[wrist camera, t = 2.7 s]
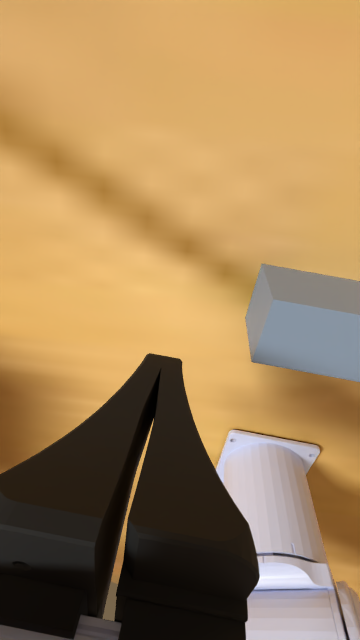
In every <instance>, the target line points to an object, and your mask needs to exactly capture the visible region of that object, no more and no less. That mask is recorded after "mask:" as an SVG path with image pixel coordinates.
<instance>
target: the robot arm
mask: <svg viewBox="0 0 360 640" xmlns="http://www.w3.org/2000/svg"><path fill="white" fill-rule="evenodd" d="M153 418H154V421H153ZM152 422H153V427H152V431H151V435H150V439H149V443H148V447H147V451H146V455H145V458H144V462H143V466H142V470H141V473H140V477H139V481H138V484H137V488H136V492H135V495H134V499H133V502H132V506H131V510H130V513H129V517H128V523H127V532H126V542H125V551H124V561H123V565H122V570H121V574H120V578H119V583H118V587H117V592H116V596H117V600H116V611H115V621H109V620H105V619H102V618H103V613H104V608H105V604H106V599H107V595H108V590H109V586H110V581H111V577H112V572H113V568H114V563H115V559H116V555H117V550H118V546H119V541H120V537H121V533H122V528H123V524H124V520H125V515H126V511H127V507H128V502H129V498H130V494H131V490H132V485H133V481H134V477H135V474H136V470H137V467H138V464H139V461H140V458H141V455H142V452H143V449H144V446H145V443H146V440H147V437H148V434H149V431H150V428H151V425H152ZM319 453H320V449H319V447H318V446H317V445H313V444H308V443H302V442H297V441H292V440H287V439H281V438H276V437H271V436H266V435H260V434H255V433H250V432H245V431H239V430H231V431H229V433H228V436H227V439H226V442H225V445H224V447H223V450H222V453H221V456H220V459H219V462H218V465H217V467H216V470H215V468H214V466H213V464H212V462H211V460H210V458H209V456H208V454H207V452H206V450H205V447H204V445H203V443H202V441H201V438H200V436H199V433H198V431H197V428H196V425H195V423H194V420H193V417H192V414H191V410H190V407H189V403H188V400H187V395H186V391H185V387H184V381H183V374H182V361H181V360H180V359H178V358H172V357H167V356H161V355H156V354H151V353H149V354H147V355H146V357H145V358H144V360H143V361H142V363H141V364H140V366H139V367H138V368H137V369H136V371H135V372H134V373H133V374H132V376H131V377H130V378H129V379H128V380H127V381H126V383H125V384H124V385H123V386H122V387H121V388H120V389H119V390H118V391H117V392H116V393H115V394H114V395H113V396H112V397H111V398H110V399H109V400H108V401H107V402H106V403H105V404H104V405H103V406H102V407H101V408H100V409H98V410H97V411H96V412H95V413H94V414H93V415H91V416H90V417H89V418H88V419H87V420H85V421H84V422H83V423H81V424H80V425H79V426H78V427H76V428H75V429H74V430H72V431H71V432H70V433H68V434H67V435H65V436H64V437H62V438H61V439H59V440H58V441H56V442H55V443H53V444H52V445H50V446H49V447H47V448H45V449H44V450H42V451H41V452H39V453H38V454H36V455H34V456H33V457H31V458H29V459H27V460H26V461H24V462H22V463H20V464H18V465H16V466H15V467H13V468H11V469H9V470H7V471H6V472H4V473H2V474H0V640H360V601H359V598H358V594H357V593H356V592H355V591H354V590H353V589H352V588H350V587H348V585H347V583H346V582H345V581H340V582H336V584H337V587H336V585H335V582H334V579H333V576H332V573H331V570H330V568H329V565H328V561H327V557H326V553H325V549H324V545H323V541H322V537H321V533H320V529H319V525H318V521H317V517H316V513H315V509H314V505H313V501H312V497H311V493H310V489H309V485H308V481H307V478H306V474H307V472H308V471H309V469H310V468H311V466H312V464H313V463H314V461H315V460H316V458H317V456H318V455H319ZM337 589H338V590H337ZM338 593H339V594H338Z"/></svg>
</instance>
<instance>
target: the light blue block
mask: <svg viewBox="0 0 360 640" xmlns="http://www.w3.org/2000/svg"><path fill="white" fill-rule="evenodd" d="M245 318H246V326H247V333H248V340H249V347H250V354H251V362H254V363H260V364H265V365H271V366H276V367H281V368H287V369H292V370H298V371H303V372H308V373H314V374H319V375H325V376H330V377H335V378H341V379H346V380H352V381H357V382H360V281H356V280H350V279H344V278H339V277H333V276H328V275H322V274H316V273H311V272H305V271H300V270H294V269H289V268H283V267H277V266H272V265H266V264H262V265H261V268H260V271H259V275H258V278H257V281H256V284H255V288H254V291H253V294H252V298H251V301H250V304H249V308H248V311H247V314H246V317H245Z"/></svg>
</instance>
